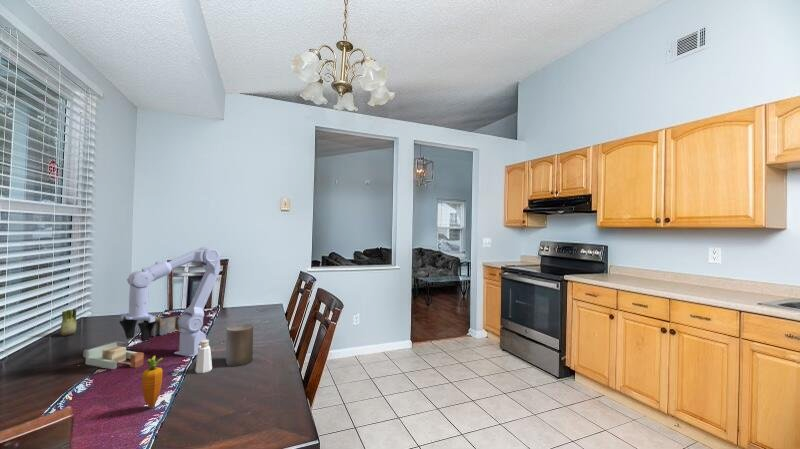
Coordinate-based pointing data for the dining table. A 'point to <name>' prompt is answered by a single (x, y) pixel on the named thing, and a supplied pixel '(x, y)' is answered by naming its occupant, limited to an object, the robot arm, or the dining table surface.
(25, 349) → the dining table surface
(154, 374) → the carrot
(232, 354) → the pillar candle
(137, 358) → the tethered block
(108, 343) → the stone block
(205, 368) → the pepper shaker
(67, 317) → the fennel bulb
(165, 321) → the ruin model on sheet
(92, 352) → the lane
